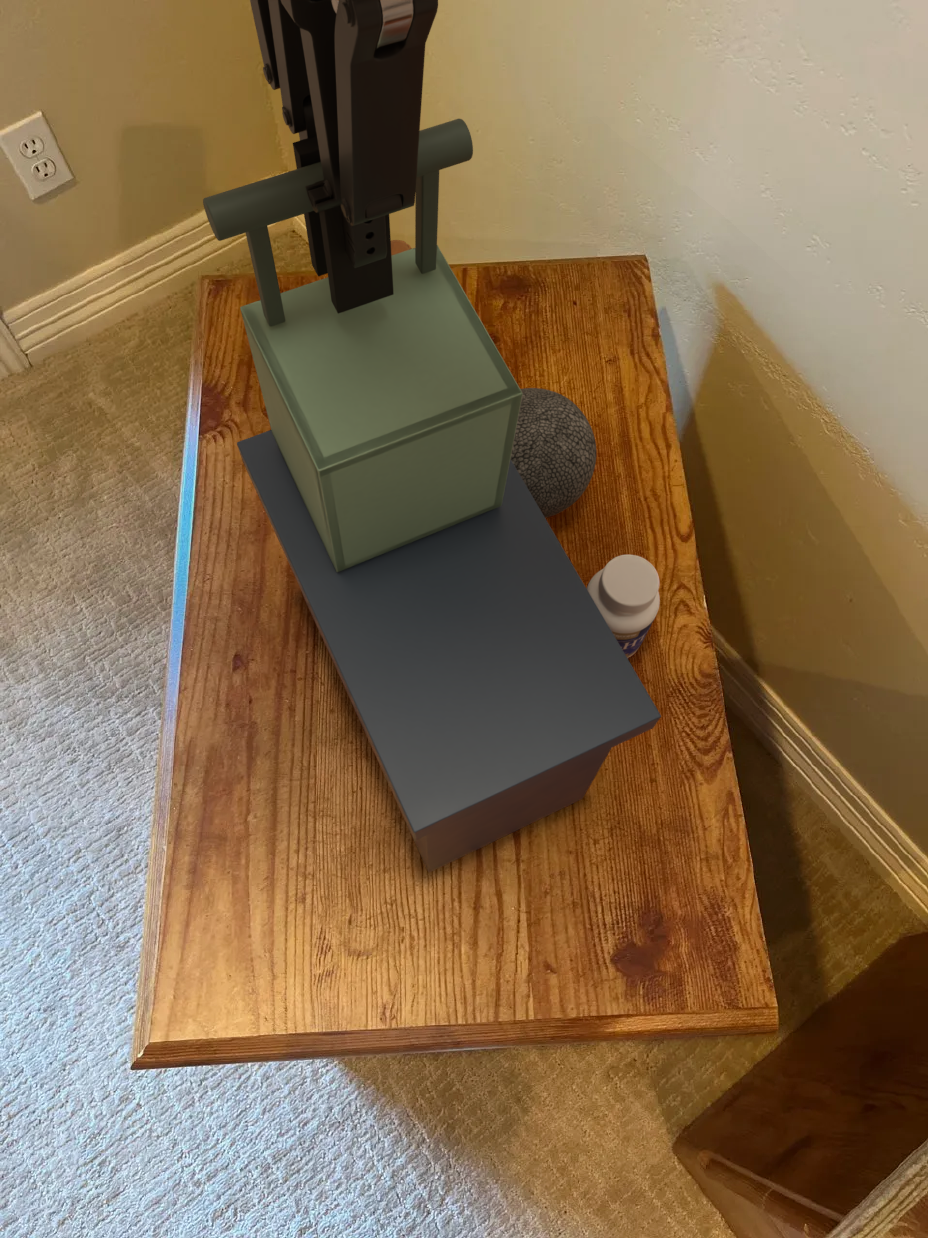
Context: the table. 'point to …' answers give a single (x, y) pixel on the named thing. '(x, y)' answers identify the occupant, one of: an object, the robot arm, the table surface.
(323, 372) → the basket
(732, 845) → the table surface
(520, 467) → the decorative ball
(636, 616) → the pill bottle
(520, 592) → the gray rectangular block
